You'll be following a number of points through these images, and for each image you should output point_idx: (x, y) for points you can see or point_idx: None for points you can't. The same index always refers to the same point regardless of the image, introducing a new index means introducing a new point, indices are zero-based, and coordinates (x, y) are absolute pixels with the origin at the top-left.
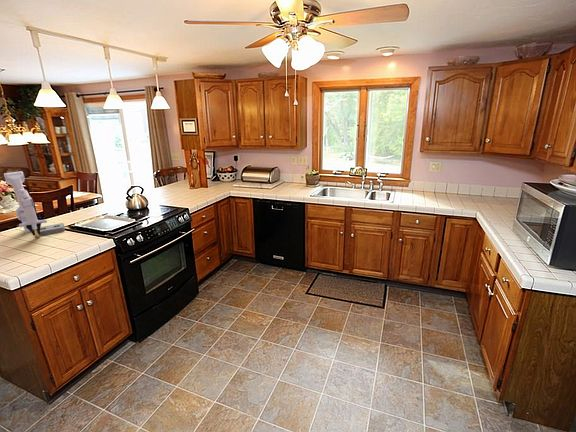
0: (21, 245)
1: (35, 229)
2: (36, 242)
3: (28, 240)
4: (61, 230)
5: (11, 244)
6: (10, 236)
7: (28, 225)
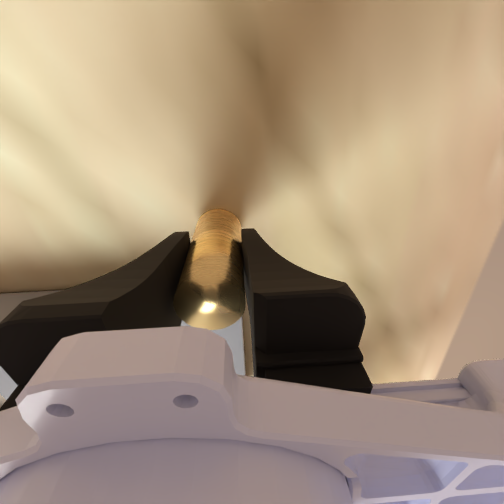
0: (399, 10)
1: (199, 284)
2: (208, 9)
3: (307, 204)
4: (1, 301)
5: (464, 173)
6: (403, 380)
7: (313, 385)
